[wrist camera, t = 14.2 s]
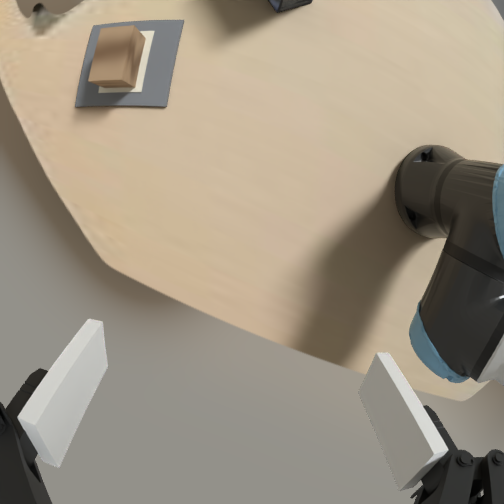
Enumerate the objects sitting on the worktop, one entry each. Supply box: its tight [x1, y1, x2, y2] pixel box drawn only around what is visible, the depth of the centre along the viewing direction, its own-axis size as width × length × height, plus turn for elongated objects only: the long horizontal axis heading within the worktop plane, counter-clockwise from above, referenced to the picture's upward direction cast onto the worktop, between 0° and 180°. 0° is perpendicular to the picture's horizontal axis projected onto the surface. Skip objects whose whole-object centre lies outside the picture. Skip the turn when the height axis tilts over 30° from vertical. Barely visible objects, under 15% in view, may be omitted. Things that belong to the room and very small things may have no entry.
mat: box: [75, 20, 184, 107], centre depth 35 cm, size 15×14×1 cm
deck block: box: [88, 25, 146, 88], centre depth 32 cm, size 8×5×6 cm, turn 171°
